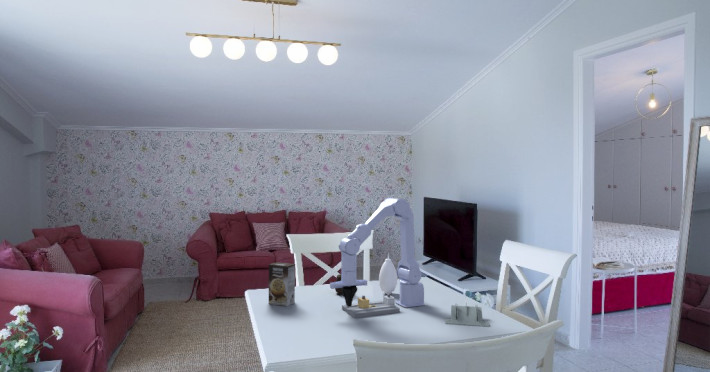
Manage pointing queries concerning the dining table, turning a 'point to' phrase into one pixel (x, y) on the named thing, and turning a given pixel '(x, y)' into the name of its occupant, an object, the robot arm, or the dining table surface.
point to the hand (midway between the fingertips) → (348, 305)
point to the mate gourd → (339, 288)
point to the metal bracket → (466, 316)
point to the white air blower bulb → (388, 277)
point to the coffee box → (281, 283)
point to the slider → (363, 302)
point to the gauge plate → (373, 308)
